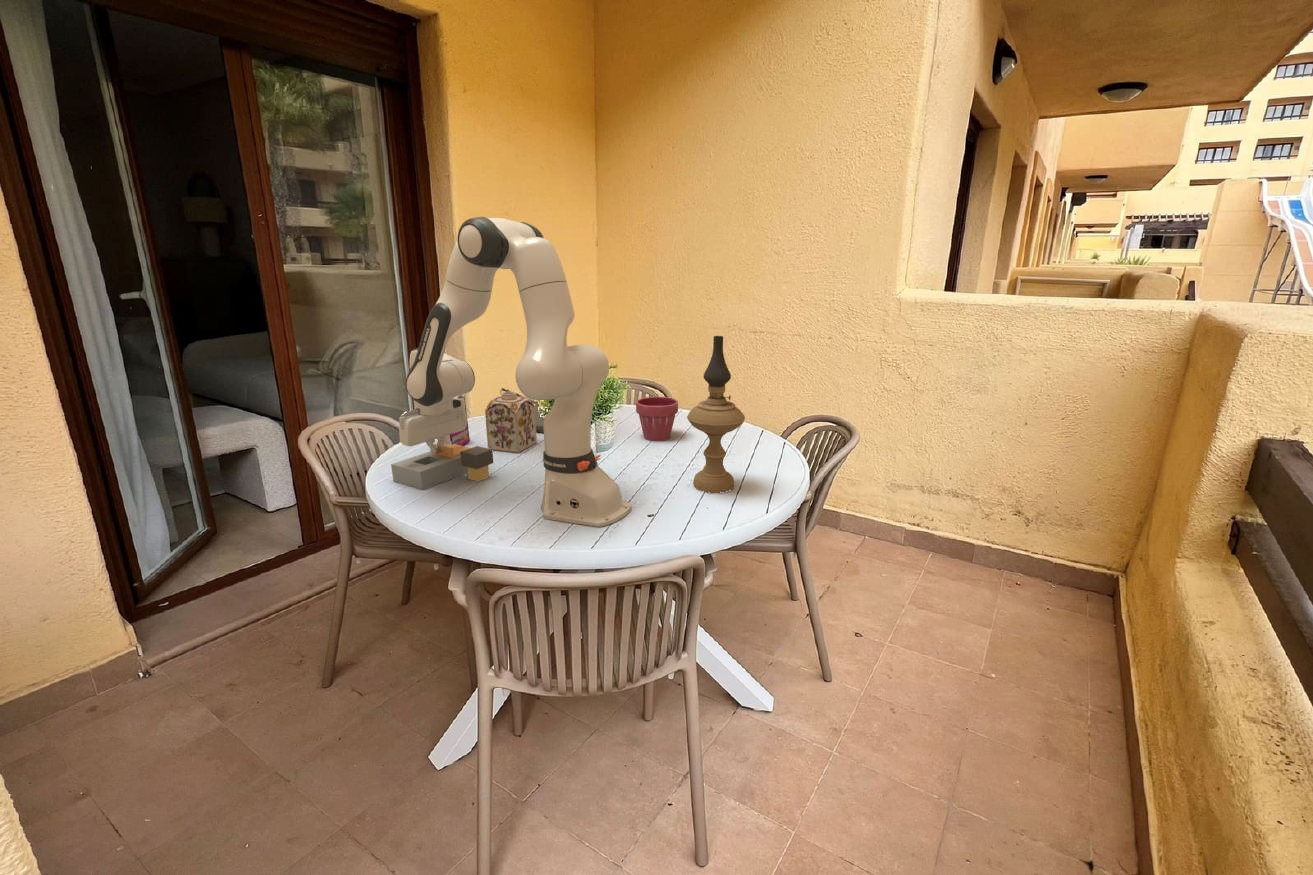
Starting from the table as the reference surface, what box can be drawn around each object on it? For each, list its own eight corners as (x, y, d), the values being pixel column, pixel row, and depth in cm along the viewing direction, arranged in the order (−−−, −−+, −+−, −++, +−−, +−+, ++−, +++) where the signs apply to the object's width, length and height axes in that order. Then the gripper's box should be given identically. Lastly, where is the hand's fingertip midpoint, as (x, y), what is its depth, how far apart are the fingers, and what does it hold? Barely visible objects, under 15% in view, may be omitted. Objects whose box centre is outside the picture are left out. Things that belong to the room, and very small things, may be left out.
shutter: (473, 450, 170) (472, 441, 169) (451, 457, 163) (450, 449, 162) (454, 445, 174) (453, 437, 173) (432, 453, 167) (431, 444, 166)
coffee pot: (564, 425, 214) (562, 385, 210) (558, 434, 203) (556, 392, 199) (507, 424, 215) (504, 384, 211) (498, 433, 204) (494, 391, 200)
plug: (494, 476, 164) (492, 449, 161) (478, 483, 159) (475, 455, 156) (479, 472, 166) (476, 446, 164) (462, 479, 161) (460, 451, 159)
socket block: (479, 467, 170) (478, 451, 169) (422, 489, 154) (420, 472, 152) (451, 460, 176) (449, 444, 175) (393, 481, 160) (390, 464, 158)
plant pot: (629, 440, 196) (628, 403, 193) (646, 429, 209) (646, 394, 205) (668, 445, 191) (669, 407, 187) (683, 434, 204) (684, 398, 200)
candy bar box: (456, 441, 195) (451, 393, 190) (470, 442, 194) (465, 394, 189) (438, 451, 185) (432, 401, 180) (452, 452, 184) (447, 402, 179)
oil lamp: (727, 500, 147) (733, 342, 135) (675, 489, 154) (677, 337, 143) (750, 482, 159) (757, 335, 148) (701, 472, 167) (705, 331, 155)
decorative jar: (487, 450, 186) (482, 395, 181) (506, 439, 197) (502, 387, 192) (519, 453, 183) (515, 397, 177) (538, 443, 193) (535, 390, 188)
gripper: (406, 414, 149) (413, 465, 153) (468, 399, 166) (472, 445, 170) (390, 411, 152) (397, 461, 156) (452, 396, 169) (457, 442, 173)
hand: (437, 453), depth 164 cm, fingers closed
